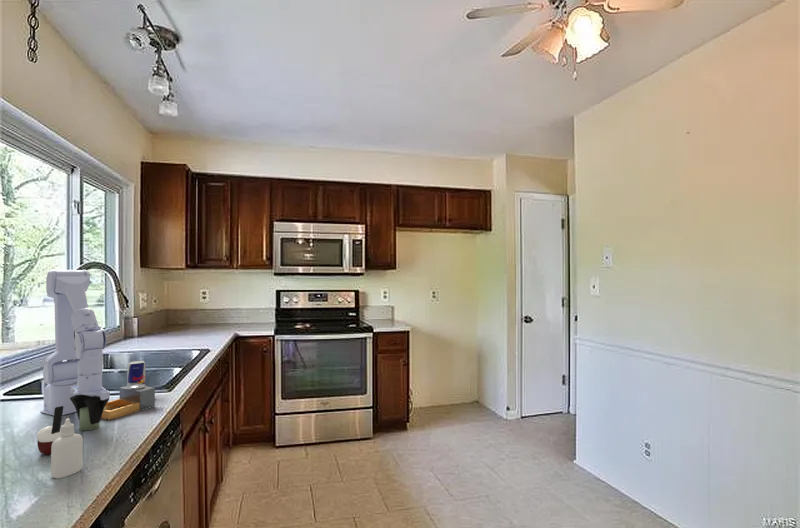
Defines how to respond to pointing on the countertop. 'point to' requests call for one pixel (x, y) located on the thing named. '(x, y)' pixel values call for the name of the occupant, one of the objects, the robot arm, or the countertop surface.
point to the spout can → (86, 420)
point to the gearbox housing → (130, 401)
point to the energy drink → (136, 373)
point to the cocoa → (50, 433)
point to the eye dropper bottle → (66, 452)
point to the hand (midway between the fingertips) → (89, 421)
